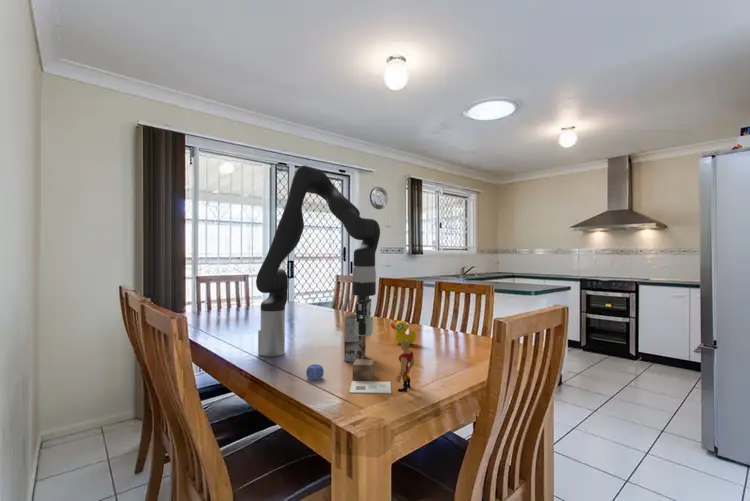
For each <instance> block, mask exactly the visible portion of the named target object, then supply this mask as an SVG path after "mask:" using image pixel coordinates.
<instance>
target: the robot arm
mask: <svg viewBox="0 0 750 501" xmlns="http://www.w3.org/2000/svg"><path fill="white" fill-rule="evenodd" d="M307 193H309V194H315V195H317V196H319V197H321V198H322V199H323V200H325V202H326V203H327V206H328V208H329V211H330V212H331V213H332V215H333V216H334V217H336V218H337V219H338V220H339V221H340V222H341V223H342V225H343V227H344V229H345V231H346V232H347V233H348V234H349V236H350V237H351V238H353V239H355V240H357V241H361V244H360V247H356V248H355V249H354V250H353V269H352V295H353V296H358V300H357V302H356V304H355V307H356V308H355V311H356V312H355V313H356V316H357V320H356V321H357V322H358V323H359V335H365V334H366V317H368V318H371V316H372V315H371V314H372V312H371V311H372V298H370V297H371V296H375V295H376V292H377V273H376V252H377V248H378V245H379V241H380V237H381V228H380V224H379V222H378V221H377V220H376V219H373V218H366V217H361V216H360V215H361V213H360V210H359V208H357V206H355V205H354V204H353V203H352V202H351V201H350V200H349V199H347V197H345V196H344V195H343V194H342V193H341V191H339V189H338V188H337V187H336V186H335V185H334V183H333V182H332V181H331V179H330V178H329V177H328V176H327V174H326V173H325V172H324V171H323V170H322V169H320V168H316V167H313V166H310V165H304V164H303V165H300V166H299V167H298V168H297V169H296V170H295V173H294V175H293V178H292V182H291V185H290V188H289V193H288V197H287V199H286V203H285V206H284V210H283V212H282V215H281V218H280V220H279V223H278V224H277V228H276V230H275V232H274V235H273V236H274V237H273V240H272V241H271V244H270V247H269V249H268V252H267V254H266V257H265V258H264V261H263V263H262V264H261V266H260V269H259V270H258V272H257V275H256V279H255V286H256V288H257V291H259V293H262V294H269V295H268V297H267V298H266V299H265V300H263V301H262V302H261V303H260V329H258V332H257V334H258V335H257V337H258V338H257V339H258V340H257V344H258V345H257V355H258V356H262V357H278V356H282V355H284V354H286V353H285V350H286V347H285V345H286V342H285V341H286V340H285V339H286V337H285V336H286V305H287V301H288V291H289V290H288V288H289V278H288V274H287V272H286V270H284V269H283V268H280V267H281V265H282V263H283V262H284V260H285V259H286V258H287V257H289V255H290V254H291V252H293V251H294V250H295V249H296V247H297V246H298V244H299V242H300V241H301V237H302V235H303V233H304V232H303V231H304V228H305V223H304V216H303V203H304V200H305V197H306V195H307ZM360 316H362V317H363V318H360Z"/></svg>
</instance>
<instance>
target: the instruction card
mask: <svg viewBox="0 0 750 501" xmlns="http://www.w3.org/2000/svg"><path fill="white" fill-rule="evenodd" d="M391 382H392V381H372V380H371V381H366V380H352V381H351V383H350V389H349V394H380V395H381V394H383V395H385V394H387V395H391V394H392V384H391Z"/></svg>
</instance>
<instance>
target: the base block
mask: <svg viewBox="0 0 750 501" xmlns="http://www.w3.org/2000/svg"><path fill="white" fill-rule="evenodd" d="M374 375H375V359H364V358H363V359H356V360H355V362H353V363H352V381H371V382H372V380H373V377H374Z"/></svg>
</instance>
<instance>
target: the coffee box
mask: <svg viewBox="0 0 750 501" xmlns="http://www.w3.org/2000/svg"><path fill="white" fill-rule="evenodd" d="M360 317H362V316H360ZM356 318H357V316H356V314H351V313H350V314H349V315H348V316H346V317H344V342H343V344H344V349H343V351H344V352H343V353H344V354H343V361H344V362H351V363H352V362H353V363H354V362H355V360H356V359H364V358H365V357H366V348H367V347H366V343H367V342H366V340H367V338H366V337H367V336H355V319H356Z"/></svg>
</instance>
